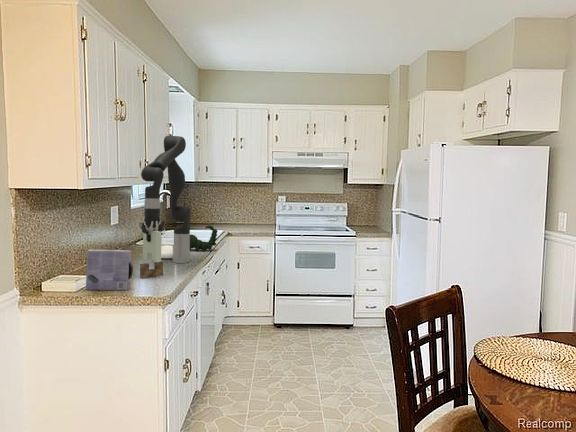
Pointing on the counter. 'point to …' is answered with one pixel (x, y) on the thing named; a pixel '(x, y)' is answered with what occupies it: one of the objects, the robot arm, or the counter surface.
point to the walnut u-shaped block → (151, 270)
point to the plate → (166, 251)
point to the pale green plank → (152, 247)
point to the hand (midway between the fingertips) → (152, 241)
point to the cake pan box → (108, 270)
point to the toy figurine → (204, 245)
